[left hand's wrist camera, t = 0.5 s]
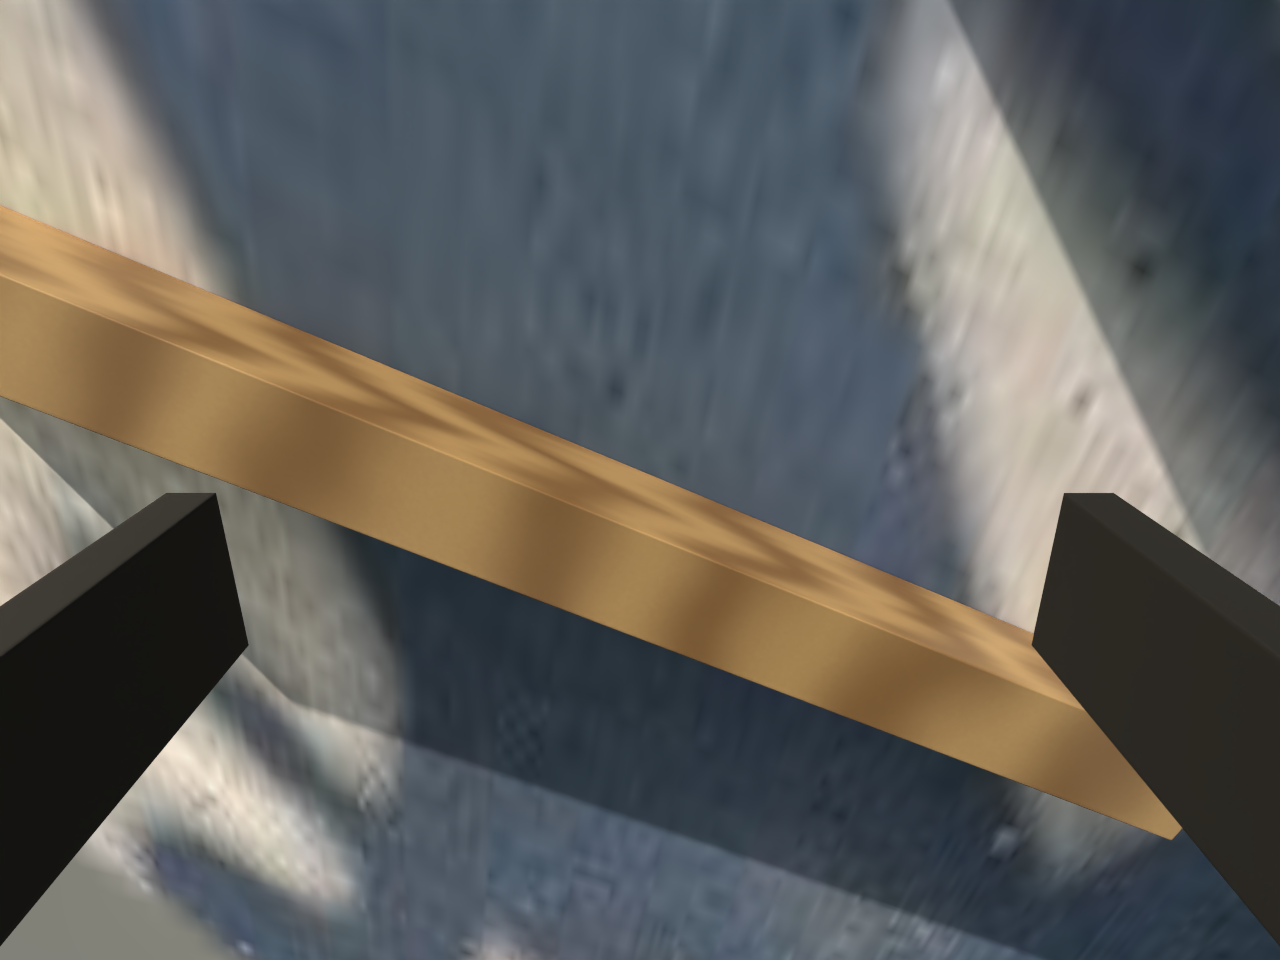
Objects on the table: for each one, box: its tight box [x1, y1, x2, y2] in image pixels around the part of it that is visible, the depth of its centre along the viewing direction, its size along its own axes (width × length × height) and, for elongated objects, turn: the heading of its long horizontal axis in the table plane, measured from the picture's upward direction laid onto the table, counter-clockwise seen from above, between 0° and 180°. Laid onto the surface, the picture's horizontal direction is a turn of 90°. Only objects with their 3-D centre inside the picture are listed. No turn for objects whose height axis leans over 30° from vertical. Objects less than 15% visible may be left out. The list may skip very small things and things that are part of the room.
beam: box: [0, 206, 1182, 840], centre depth 37 cm, size 72×5×7 cm, turn 66°
